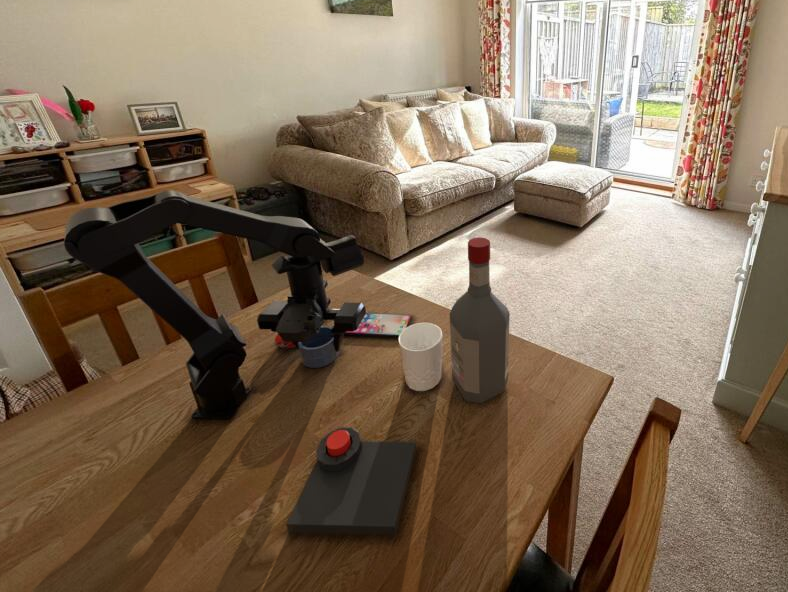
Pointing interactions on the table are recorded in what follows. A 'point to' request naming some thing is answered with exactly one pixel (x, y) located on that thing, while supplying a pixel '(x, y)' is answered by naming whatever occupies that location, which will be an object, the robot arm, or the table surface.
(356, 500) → the dark grey base plate
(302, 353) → the bowl
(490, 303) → the liquor
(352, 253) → the robot arm
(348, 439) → the power button
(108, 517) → the table surface
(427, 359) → the white cup
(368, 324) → the smartphone
